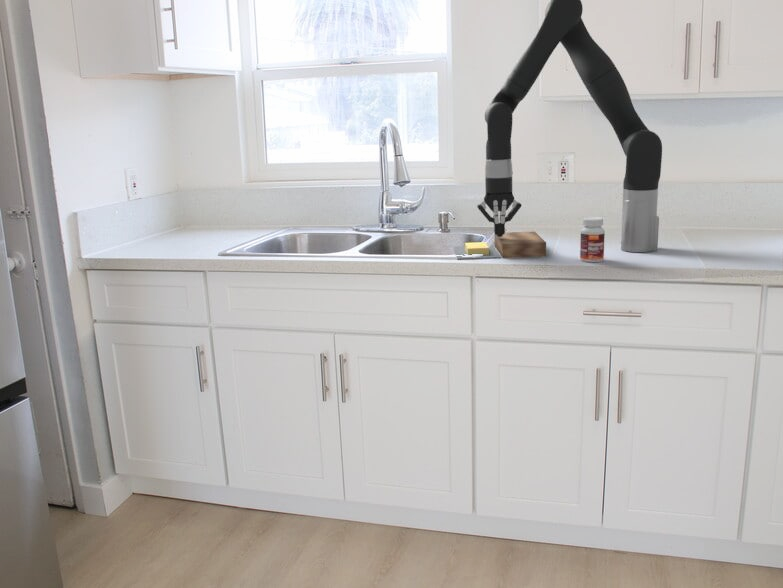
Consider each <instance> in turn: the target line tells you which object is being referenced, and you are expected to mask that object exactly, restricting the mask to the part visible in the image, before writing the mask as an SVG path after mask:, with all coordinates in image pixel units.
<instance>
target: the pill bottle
mask: <svg viewBox="0 0 783 588" xmlns="http://www.w3.org/2000/svg"><path fill="white" fill-rule="evenodd" d="M603 225H604V218H603V217H599V216H598V217H596V216H588V217H583V219H582V226H584V227H582V228H581V229H580V244H579V245H580V250H579V251H580V252H579V259H580V261H582V262H583V263H584V262H586V263H600V262H602V261H604V260H605V258H604V257H605V235H606V232H605V229H604V228H603Z"/></svg>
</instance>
